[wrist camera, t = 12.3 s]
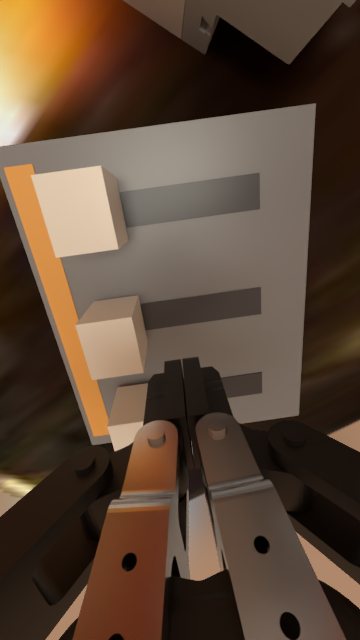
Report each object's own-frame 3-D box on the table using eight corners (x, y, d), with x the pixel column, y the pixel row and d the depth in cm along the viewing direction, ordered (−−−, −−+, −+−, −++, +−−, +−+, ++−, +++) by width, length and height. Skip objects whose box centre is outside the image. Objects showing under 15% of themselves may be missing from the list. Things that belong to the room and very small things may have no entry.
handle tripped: (138, 295, 18) (131, 316, 14) (147, 341, 19) (143, 372, 15) (93, 301, 18) (75, 325, 14) (105, 347, 19) (91, 380, 15)
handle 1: (116, 177, 15) (100, 165, 11) (128, 240, 16) (118, 249, 13) (63, 184, 15) (30, 175, 11) (80, 247, 16) (56, 257, 13)
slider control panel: (284, 125, 18) (316, 102, 14) (279, 387, 27) (299, 416, 23) (25, 161, 18) (-12, 147, 14) (102, 412, 26) (92, 446, 23)
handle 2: (156, 381, 20) (154, 419, 17) (163, 417, 22) (163, 459, 18) (117, 387, 20) (107, 426, 17) (126, 422, 22) (119, 466, 18)
